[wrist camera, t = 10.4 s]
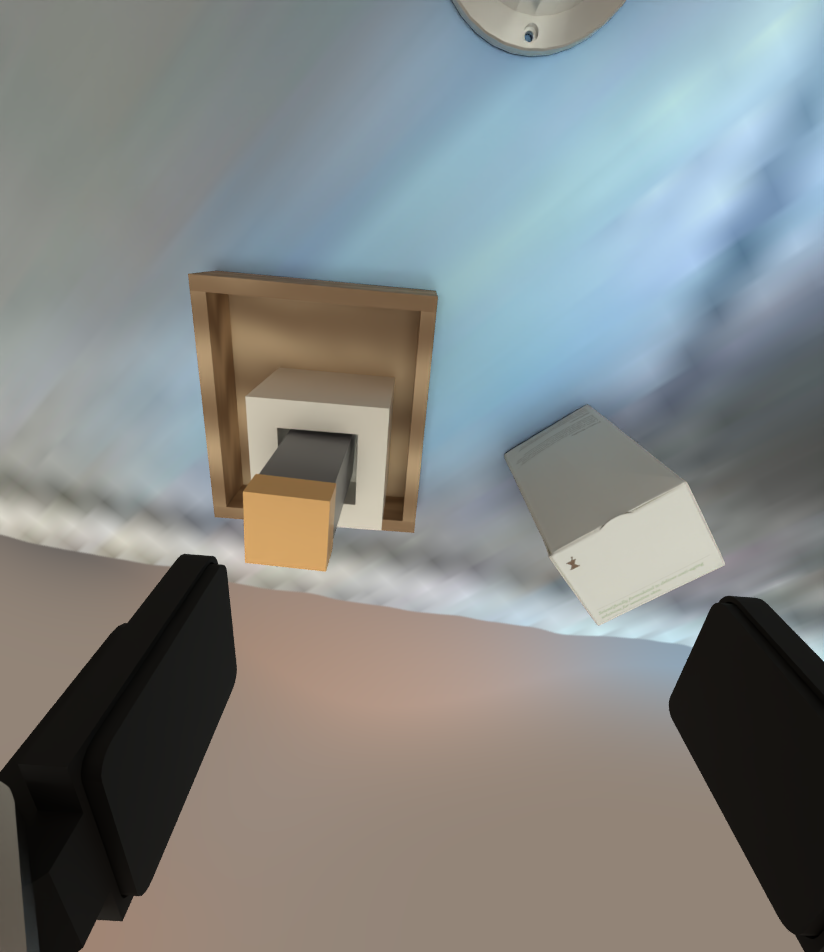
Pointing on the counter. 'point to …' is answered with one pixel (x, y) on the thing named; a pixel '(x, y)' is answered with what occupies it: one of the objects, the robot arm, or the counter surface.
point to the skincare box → (611, 514)
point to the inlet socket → (329, 428)
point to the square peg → (298, 500)
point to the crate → (309, 365)
